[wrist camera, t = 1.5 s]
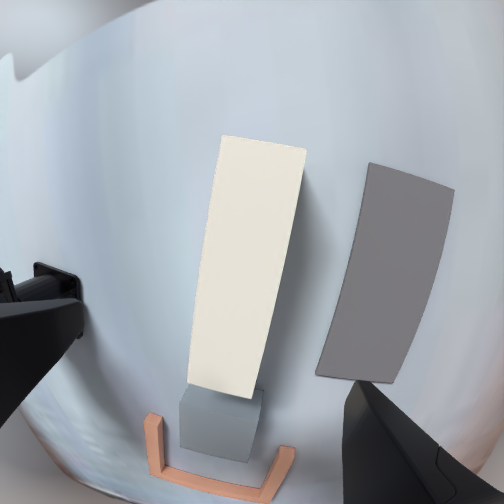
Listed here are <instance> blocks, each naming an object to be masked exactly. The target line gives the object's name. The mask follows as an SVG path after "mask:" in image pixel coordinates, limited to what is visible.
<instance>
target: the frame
mask: <svg viewBox="0 0 504 504" xmlns="http://www.w3.org/2000/svg"><path fill="white" fill-rule="evenodd" d="M143 422H144V432H145V441H146V449H147V456H148V463H149V470H150V475H153V476H156V477H158V478H161V479H164V480H167V481H170V482H173V483H176V484H179V485H182V486H186V487H189V488H192V489H196V490H200V491H203V492H207V493H211V494H215V495H220V496H224V497H229V498H234V499H239V500H245V501H250V502H257V503H264V504H269V503H270V501H271V500H272V498H273V496H274V495H275V493H276V491H277V490H278V488H279V486H280V484H281V483H282V481H283V479H284V477H285V475H286V474H287V472H288V470H289V468H290V466H291V464H292V463H293V461H294V459H295V448H293V447H285V446H280V447H279V450H278V452H277V454H276V457H275V459H274V461H273V463H272V465H271V468H270V470H269V472H268V474H267V476H266V478H265V481H264V483H263V485H262V487H261V489H258V488H252V487H246V486H241V485H236V484H231V483H226V482H222V481H217V480H213V479H209V478H205V477H202V476H198V475H194V474H191V473H187V472H184V471H181V470H178V469H175V468H172V467H169V466H166V465H165V461H164V443H163V417H161V416H158V415H155V414H152V413H150V412H149V413H148V415H147V417H146V418H145V420H144V421H143Z"/></svg>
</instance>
